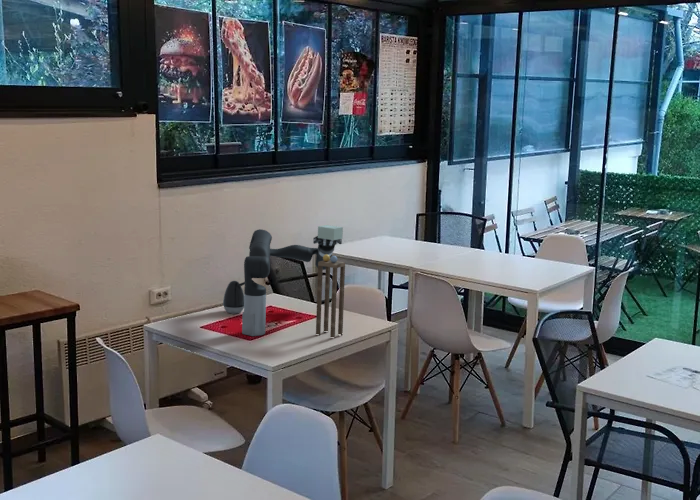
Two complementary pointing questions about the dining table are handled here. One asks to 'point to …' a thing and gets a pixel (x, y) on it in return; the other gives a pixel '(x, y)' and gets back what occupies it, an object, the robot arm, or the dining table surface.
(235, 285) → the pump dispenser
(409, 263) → the dining table surface
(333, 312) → the walnut stand
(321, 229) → the mint green block
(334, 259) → the slate marble
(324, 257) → the amber marble
